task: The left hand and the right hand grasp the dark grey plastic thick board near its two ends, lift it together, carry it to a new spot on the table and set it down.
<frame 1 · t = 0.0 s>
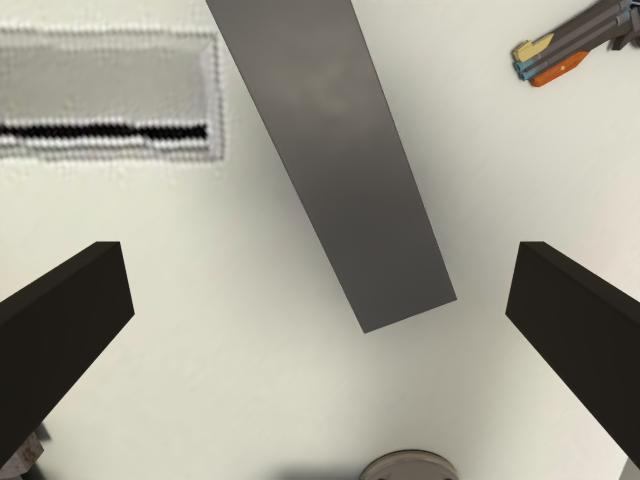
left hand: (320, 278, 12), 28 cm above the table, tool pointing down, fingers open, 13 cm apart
toy gun: (621, 40, 35), on the table
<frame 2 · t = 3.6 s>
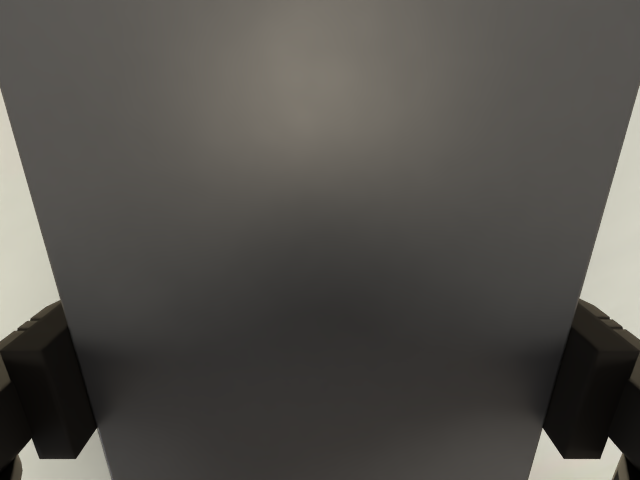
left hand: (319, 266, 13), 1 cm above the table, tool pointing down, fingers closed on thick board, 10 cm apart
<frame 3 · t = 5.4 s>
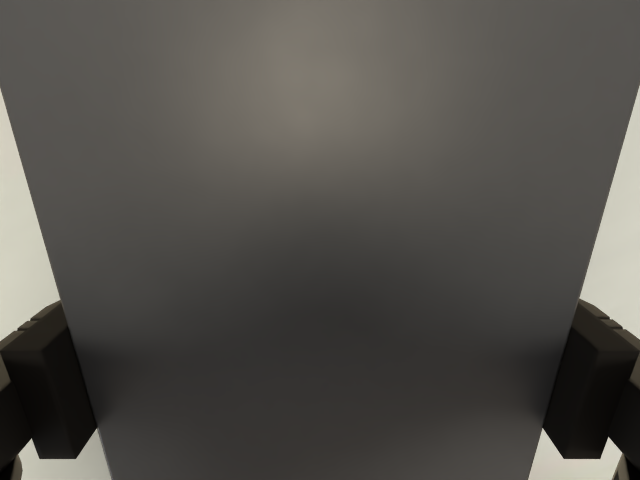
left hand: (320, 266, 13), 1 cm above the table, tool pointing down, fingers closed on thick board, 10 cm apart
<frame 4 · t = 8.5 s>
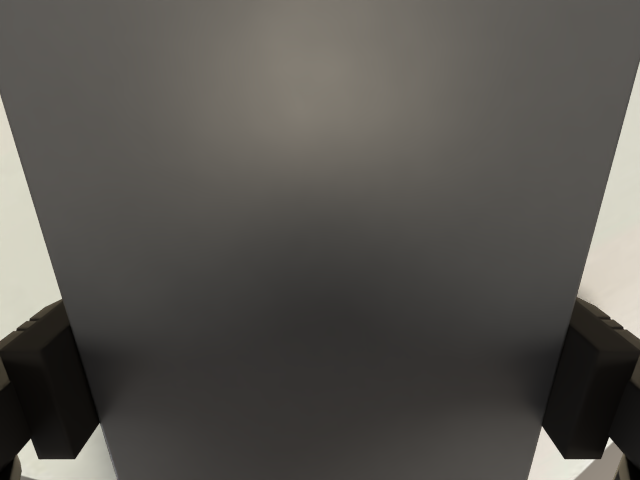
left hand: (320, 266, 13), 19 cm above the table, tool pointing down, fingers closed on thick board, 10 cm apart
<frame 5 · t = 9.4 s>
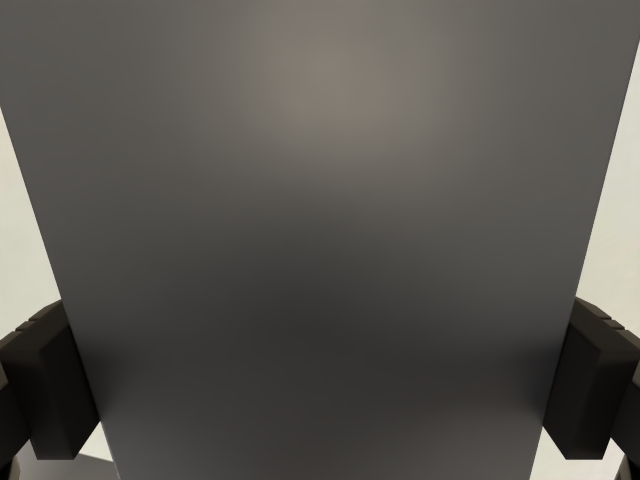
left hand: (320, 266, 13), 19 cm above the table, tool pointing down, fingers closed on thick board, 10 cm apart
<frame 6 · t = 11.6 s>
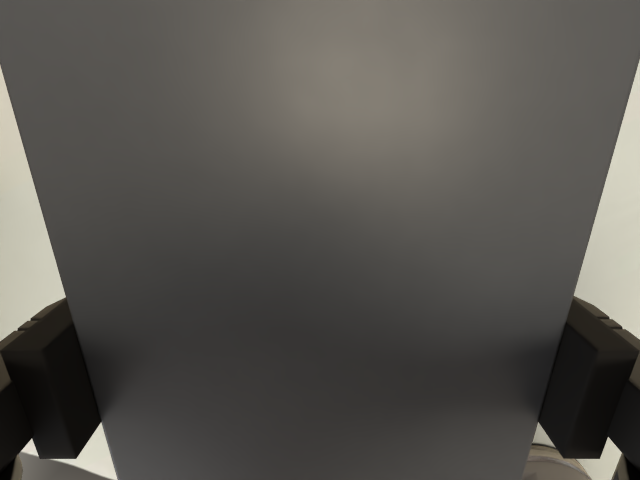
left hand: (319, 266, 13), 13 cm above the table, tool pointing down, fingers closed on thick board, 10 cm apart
when the left hand's fingers open (2 cm above the table, at t = 13.5 s): thick board drops 1 cm, on the table.
when the right hand's fingers open (2 cm above the table, at t = 13.5 s): thick board drops 1 cm, on the table.
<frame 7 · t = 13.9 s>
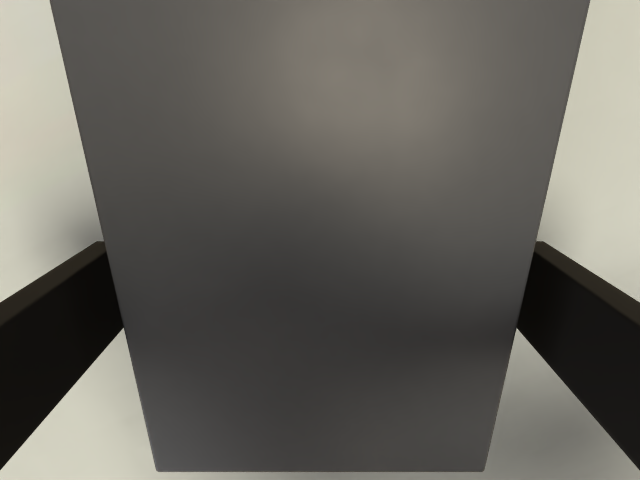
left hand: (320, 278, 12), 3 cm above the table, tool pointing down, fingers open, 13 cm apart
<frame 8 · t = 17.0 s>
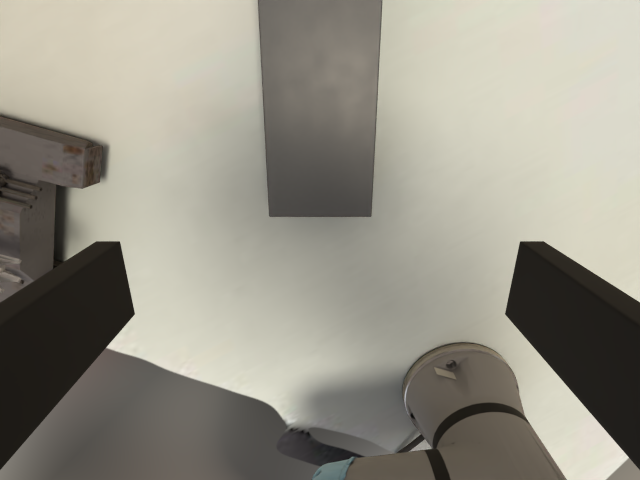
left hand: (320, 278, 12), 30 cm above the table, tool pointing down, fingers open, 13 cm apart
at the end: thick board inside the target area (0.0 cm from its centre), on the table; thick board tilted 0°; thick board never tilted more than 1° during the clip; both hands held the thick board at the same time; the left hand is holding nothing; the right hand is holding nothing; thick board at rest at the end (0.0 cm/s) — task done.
